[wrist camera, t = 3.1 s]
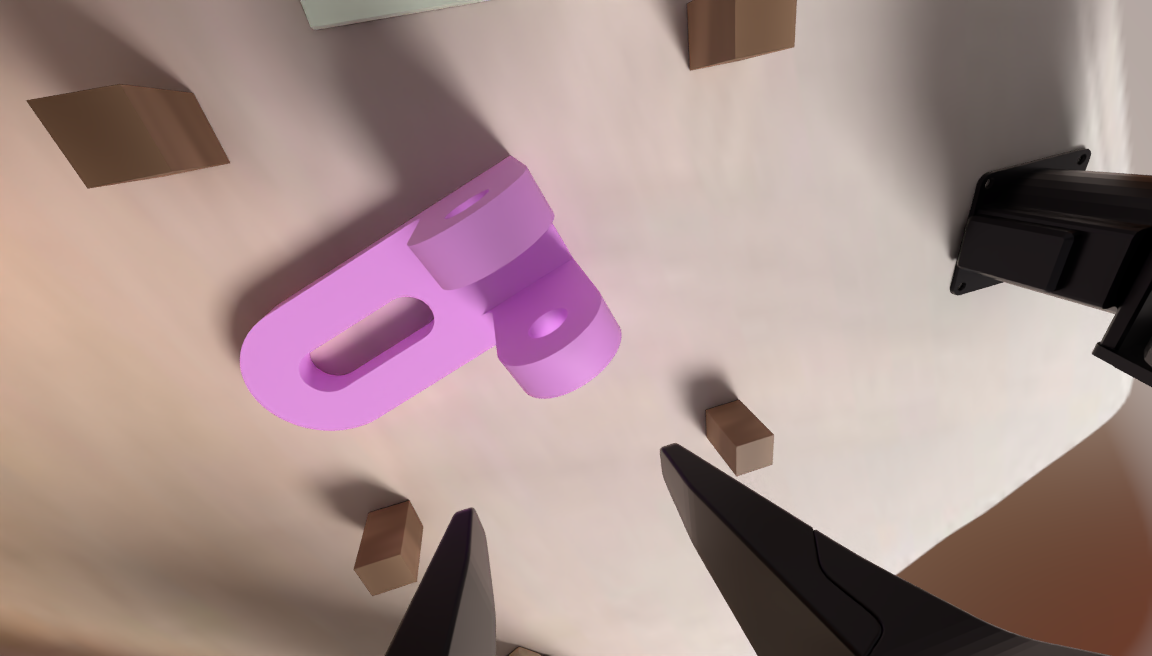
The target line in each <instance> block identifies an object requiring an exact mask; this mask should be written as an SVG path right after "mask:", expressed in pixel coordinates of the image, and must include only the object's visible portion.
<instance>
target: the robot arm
mask: <svg viewBox="0 0 1152 656" xmlns="http://www.w3.org/2000/svg"><path fill="white" fill-rule="evenodd" d="M1080 156H1081V159H1080V161H1079V162H1078V159H1079V158H1080ZM1090 156H1091V151H1090V150H1089V149H1078V150H1074V151H1070V152H1066V153H1062V154H1058V155H1054V156H1050V157H1046V158H1042V159H1038V160H1034V161H1031V162H1027V163H1023V164H1019V165H1015V166H1011V167H1007V168H1003V169H999V170H995V171H991V172H988V173H985V174H984V175H983V176H982V177H981V178H980V179H979V181H978V183H977V185H976V189H975V193H974V197H973V201H972V205H971V209H970V213H969V217H968V220H967V224H966V228H965V232H964V236H963V240H962V244H961V248H960V252H959V256H958V260H957V264H956V267H955V271H954V275H953V279H952V283H951V287H950V292H951V293H952V294H954V295H962V294H965V293H969V292H972V291H975V290H979V289H982V288H986V287H989V286H992V285H996V284H999V283H1003V282H1006V283H1009V284H1013V285H1016V286H1020V287H1023V288H1027V289H1030V290H1033V291H1037V292H1040V293H1044V294H1047V295H1051V296H1054V297H1058V298H1061V299H1065V300H1068V301H1071V302H1075V303H1078V304H1082V305H1085V306H1089V307H1092V308H1096V309H1099V310H1103V311H1106V312H1110V313H1113V314H1115V316H1114V318H1113V320H1112V322H1111V324H1110V325H1109V327H1108V329H1107V331H1106V333H1105V335H1104V337H1103V339H1102V341H1101V342H1098V343H1097V344H1096V346H1095V348H1094V350H1093V352H1092V354H1093V355H1094V356H1096V357H1098V358H1100V359H1102V360H1103V361H1105V362H1107V363H1109V364H1111V365H1113V366H1114V367H1115V368H1117V369H1119V370H1121V371H1123V372H1125V373H1126V374H1128V375H1130V376H1132V377H1134V378H1136V379H1138V380H1140V381H1141V382H1143V383H1145V384H1147V385H1149V386H1151V387H1152V175H1138V174H1124V173H1109V172H1095V171H1085V170H1086V167H1087V165H1088V162H1089V159H1090ZM1077 162H1078V163H1077ZM989 179H990V182H989V184H988V186H987V187H985V184H986V182H987V181H988V180H989ZM961 283H962V286H961V287H960V288H959V289H958V287H959V285H960V284H961ZM660 458H661V467H662V474H663V478H664V481H665V483H666V485H667V488H668V490H669V492H670V494H671V497H672V499H673V501H674V503H675V506H676V508H677V510H678V512H679V515H680V517H681V519H682V521H683V524H684V526H685V528H686V530H687V533H688V535H689V537H690V539H691V541H692V543H693V545H694V547H695V549H696V550H697V552H698V554H699V556H700V557H701V559H702V561H703V563H704V564H705V566H706V568H707V570H708V571H709V573H710V575H711V576H712V578H713V580H714V582H715V583H716V585H717V587H718V588H719V590H720V592H721V594H722V595H723V597H724V599H725V600H726V602H727V604H728V606H729V607H730V609H731V611H732V613H733V614H734V616H735V618H736V619H737V621H738V623H739V625H740V626H741V628H742V630H743V631H744V633H745V635H746V637H747V638H748V640H749V642H750V643H751V645H752V647H753V649H754V650H755V652H756V654H757V656H1110V655H1104V654H1100V653H1095V652H1090V651H1085V650H1081V649H1075V648H1071V647H1066V646H1061V645H1057V644H1051V643H1046V642H1042V641H1038V640H1033V639H1030V638H1027V637H1024V636H1020V635H1017V634H1015V633H1012V632H1009V631H1006V630H1004V629H1001V628H999V627H997V626H994V625H992V624H989V623H987V622H985V621H983V620H981V619H979V618H977V617H975V616H973V615H971V614H969V613H967V612H965V611H963V610H961V609H959V608H957V607H956V606H953V605H952V604H950V603H948V602H946V601H944V600H942V599H940V598H938V597H936V596H934V595H932V594H930V593H928V592H927V591H924V590H923V589H921V588H919V587H917V586H915V585H913V584H911V583H909V582H907V581H905V580H903V579H901V578H899V577H898V576H896V575H894V574H892V573H890V572H888V571H886V570H884V569H883V568H881V567H879V566H877V565H875V564H873V563H872V562H870V561H868V560H866V559H864V558H862V557H861V556H859V555H857V554H856V553H854V552H852V551H850V550H849V549H847V548H845V547H844V546H842V545H840V544H839V543H837V542H835V541H834V540H832V539H830V538H829V537H827V536H826V535H824V534H822V533H821V532H819V531H818V530H814V531H813V528H812V527H811V526H809V525H808V524H806V523H804V522H803V521H801V520H800V519H798V518H796V517H795V516H793V515H792V514H790V513H788V512H787V511H785V510H784V509H782V508H780V507H779V506H777V505H776V504H774V503H772V502H771V501H769V500H768V499H766V498H764V497H763V496H761V495H760V494H758V493H756V492H755V491H753V490H752V489H750V488H748V487H747V486H745V485H743V484H742V483H740V482H739V481H737V480H735V479H734V478H732V477H731V476H729V475H727V474H726V473H724V472H723V471H721V470H719V469H718V468H716V467H715V466H713V465H711V464H710V463H708V462H707V461H705V460H703V459H702V458H700V457H699V456H697V455H695V454H694V453H692V452H691V451H689V450H687V449H686V448H684V447H682V446H681V445H679V444H677V443H673V444H670V445H667V446H664V447H662V448H661V449H660ZM385 656H496V618H495V605H494V595H493V587H492V579H491V571H490V563H489V556H488V548H487V540H486V535H485V532H484V529H483V527H482V524H481V522H480V520H479V517H478V515H477V513H476V511H475V509H474V508H468V509H464V510H461V511H458V512H456V513H455V514H454V516H453V517H452V519H451V522H450V524H449V526H448V528H447V530H446V532H445V534H444V536H443V538H442V540H441V542H440V544H439V546H438V548H437V550H436V552H435V554H434V556H433V558H432V560H431V562H430V564H429V566H428V568H427V570H426V572H425V575H424V577H423V579H422V581H421V583H420V585H419V587H418V589H417V591H416V593H415V595H414V597H413V599H412V601H411V603H410V605H409V607H408V609H407V611H406V613H405V615H404V617H403V619H402V621H401V623H400V625H399V627H398V630H397V632H396V634H395V636H394V638H393V640H392V642H391V644H390V646H389V648H388V650H387V652H386V654H385Z"/></svg>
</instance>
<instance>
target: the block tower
mask: <svg viewBox="0 0 1152 656" xmlns="http://www.w3.org/2000/svg"><path fill="white" fill-rule="evenodd" d="M508 656H542V655H540V654H538V653H535V652H533V651H530V650H527V649H525V648H522V647H518V648H517V649H516V650H514V651H513V652H512V653H511V654H510V655H508Z"/></svg>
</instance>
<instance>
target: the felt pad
mask: <svg viewBox="0 0 1152 656" xmlns="http://www.w3.org/2000/svg"><path fill="white" fill-rule="evenodd" d="M300 1H301V4H302V6H303V9H304V12H305V14H306V17H307V19H308V22H309V24H310V27H311V28H313V29H314V30H318V29H324V28H330V27H336V26H342V25H348V24H354V23H360V22H365V21H371V20H377V19H383V18H389V17H395V16H401V15H407V14H413V13H418V12H424V11H430V10H436V9H442V8H448V7H454V6H460V5H466V4H472V3H477V2H483V1H489V0H300Z"/></svg>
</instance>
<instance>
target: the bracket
mask: <svg viewBox="0 0 1152 656" xmlns="http://www.w3.org/2000/svg"><path fill="white" fill-rule="evenodd" d="M553 220H554V213H553V211H552V209H551V208H550V206H549V204H548V203H547V201H546V199H545V197H544V196H543V194H542V192H541V191H540V189H539V187H538V185H537V184H536V182H535V180H534V178H533V177H532V175H531V173H530V172H529V170H528V168H527V166H525V165H524V164H522V163H521V162H520V161H518V160H517V159H515V158H514V157H512V156H511V155H510V156H508V157H507V158H505V159H504V160H502V161H501V162H499V163H498V164H496V165H494V166H493V167H491V168H490V169H488V170H487V171H485V172H484V173H482V174H480V175H479V176H477V177H476V178H474V179H473V180H471V181H470V182H468V183H466V184H465V185H463V186H462V187H460V188H459V189H457V190H455V191H454V192H452V193H451V194H449V195H448V196H446V197H445V198H443V199H441V200H440V201H438V202H437V203H435V204H434V205H432V206H431V207H429V208H427V209H426V210H424V211H423V212H421V213H420V214H418V215H417V216H415V217H413V218H412V219H410V220H409V221H407V222H406V223H404V224H403V225H401V226H399V227H398V228H396V229H395V230H393V231H392V232H390V233H388V234H387V235H385V236H384V237H382V238H381V239H379V240H378V241H376V242H374V243H373V244H371V245H370V246H368V247H367V248H365V249H364V250H362V251H360V252H359V253H357V254H356V255H354V256H353V257H351V258H350V259H348V260H346V261H345V262H343V263H342V264H340V265H339V266H337V267H336V268H334V269H332V270H331V271H329V272H328V273H326V274H325V275H323V276H321V277H320V278H318V279H317V280H315V281H314V282H312V283H311V284H309V285H307V286H306V287H304V288H303V289H301V290H300V291H298V292H297V293H295V294H293V295H292V296H290V297H289V298H287V299H286V300H284V301H283V302H281V303H280V304H278V305H277V306H275V307H274V308H273V309H272V310H271V311H270V312H269V313H267V314H266V315H265V316H264V317H263V318H262V319H261V320H260V321H259V322H258V323H257V324H256V325H255V326H254V327H253V328H252V329H251V330H250V332H249V333H248V335H247V336H246V338H245V340H244V342H243V345H242V348H241V353H240V368H241V373H242V376H243V379H244V382H245V384H246V386H247V388H248V389H249V391H250V392H251V394H252V395H253V396H254V397H255V399H256V400H257V401H258V402H259V403H260V404H261V405H262V406H263V407H265V408H266V409H267V410H268V411H270V412H271V413H273V414H274V415H276V416H277V417H279V418H281V419H283V420H285V421H287V422H290V423H292V424H295V425H298V426H301V427H305V428H310V429H316V430H329V431H335V430H345V429H351V428H355V427H359V426H362V425H365V424H367V423H370V422H372V421H374V420H376V419H377V418H379V417H381V416H382V415H384V414H386V413H387V412H389V411H390V410H392V409H394V408H395V407H397V406H398V405H400V404H402V403H403V402H405V401H406V400H408V399H410V398H411V397H413V396H414V395H416V394H418V393H419V392H421V391H422V390H424V389H426V388H427V387H429V386H431V385H432V384H434V383H435V382H437V381H439V380H440V379H442V378H443V377H445V376H447V375H448V374H450V373H451V372H453V371H455V370H456V369H458V368H459V367H461V366H463V365H464V364H466V363H467V362H469V361H471V360H472V359H474V358H476V357H477V356H479V355H480V354H482V353H484V352H485V351H487V350H488V349H490V348H492V347H493V346H495V345H496V347H497V355H498V358H499V360H500V361H501V362H502V364H503V365H504V366H505V367H506V369H507V370H508V371H509V372H510V374H511V375H512V376H513V377H514V379H515V380H516V381H517V382H518V384H519V385H520V386H521V387H522V389H523V390H524V391H525V392H526V393H527V394H528V395H530V396H532V397H535V398H544V399H545V398H553V397H558V396H561V395H564V394H567V393H569V392H572V391H574V390H576V389H578V388H580V387H581V386H583V385H585V384H586V383H588V382H589V381H590V380H592V379H593V378H594V377H596V376H597V375H598V374H599V373H600V372H601V371H602V370H603V369H604V368H605V367H606V366H607V365H608V364H609V363H610V361H611V360H612V359H613V357H614V356H615V354H616V352H617V350H618V348H619V345H620V342H621V329H620V327H619V325H618V323H617V322H616V320H615V318H614V316H613V315H612V313H611V311H610V309H609V308H608V306H607V304H606V303H605V301H604V299H603V297H602V296H601V294H600V292H599V291H598V289H597V288H596V287H595V286H594V284H593V283H592V282H591V281H590V279H589V278H588V277H587V275H586V274H585V273H584V272H583V270H582V269H581V268H580V266H579V265H578V264H577V263H576V261H575V260H574V259H573V257H572V256H571V254H570V252H569V251H568V249H567V247H566V245H565V244H564V242H563V240H562V239H561V237H560V235H559V234H558V232H557V230H556V229H555V227H554V225H553V223H552V222H553ZM399 297H414V298H417V299H419V300H421V301H423V302H425V303H426V304H427V305H428V306H429V307H430V309H431V310H432V312H433V315H434V319H433V320H432V321H431V322H430V323H429V324H427V325H426V326H424V327H423V328H421V329H419V330H418V331H416V332H415V333H413V334H412V335H410V336H408V337H407V338H405V339H404V340H402V341H400V342H399V343H397V344H396V345H394V346H392V347H391V348H389V349H388V350H386V351H384V352H383V353H381V354H380V355H378V356H377V357H375V358H373V359H372V360H370V361H369V362H367V363H365V364H364V365H362V366H361V367H359V368H357V369H356V370H354V371H353V372H351V373H349V374H346V375H331V374H327V373H325V372H323V371H321V370H319V369H318V368H317V367H316V366H315V365H314V364H313V362H312V360H311V357H310V352H311V351H313V350H315V349H316V348H318V347H319V346H321V345H323V344H324V343H326V342H327V341H329V340H330V339H332V338H334V337H335V336H337V335H338V334H340V333H341V332H343V331H345V330H346V329H348V328H349V327H351V326H352V325H354V324H356V323H357V322H359V321H360V320H362V319H364V318H365V317H367V316H368V315H370V314H371V313H373V312H375V311H376V310H378V309H379V308H381V307H382V306H384V305H386V304H387V303H389V302H390V301H392V300H394V299H396V298H399Z"/></svg>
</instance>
